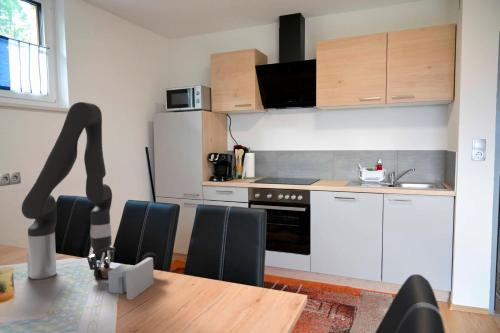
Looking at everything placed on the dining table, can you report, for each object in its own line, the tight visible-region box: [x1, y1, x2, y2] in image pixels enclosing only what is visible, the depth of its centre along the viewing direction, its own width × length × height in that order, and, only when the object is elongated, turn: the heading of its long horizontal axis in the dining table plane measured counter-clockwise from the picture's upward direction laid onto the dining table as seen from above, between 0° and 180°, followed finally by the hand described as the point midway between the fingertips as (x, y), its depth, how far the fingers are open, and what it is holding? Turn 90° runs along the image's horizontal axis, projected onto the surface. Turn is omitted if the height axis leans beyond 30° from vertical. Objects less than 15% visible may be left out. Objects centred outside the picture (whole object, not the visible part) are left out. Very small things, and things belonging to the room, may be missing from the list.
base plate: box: [126, 257, 155, 301], centre depth 121 cm, size 2×14×10 cm, turn 166°
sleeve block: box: [108, 264, 136, 295], centre depth 123 cm, size 6×8×8 cm
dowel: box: [93, 266, 115, 279], centre depth 134 cm, size 11×4×4 cm, turn 76°
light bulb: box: [141, 252, 158, 271], centre depth 134 cm, size 6×6×10 cm
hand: (102, 276), depth 135 cm, fingers open, 4 cm apart
